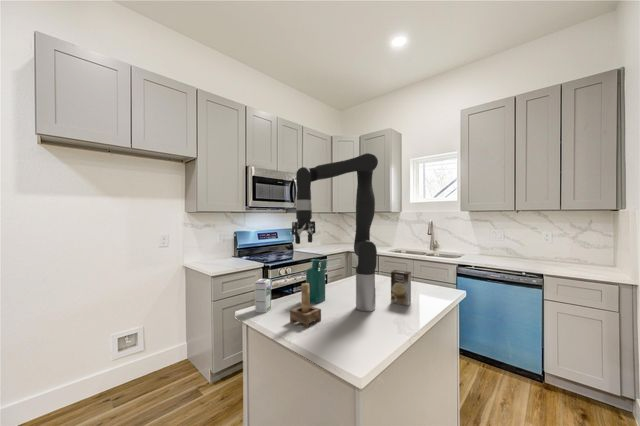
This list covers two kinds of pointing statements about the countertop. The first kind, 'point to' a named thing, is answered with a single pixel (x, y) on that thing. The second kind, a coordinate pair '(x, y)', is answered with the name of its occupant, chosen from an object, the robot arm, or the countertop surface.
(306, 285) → the rod
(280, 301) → the countertop surface
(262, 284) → the syrup box
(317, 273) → the teal bottle
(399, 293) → the coffee box
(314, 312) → the brown wooden square frame
